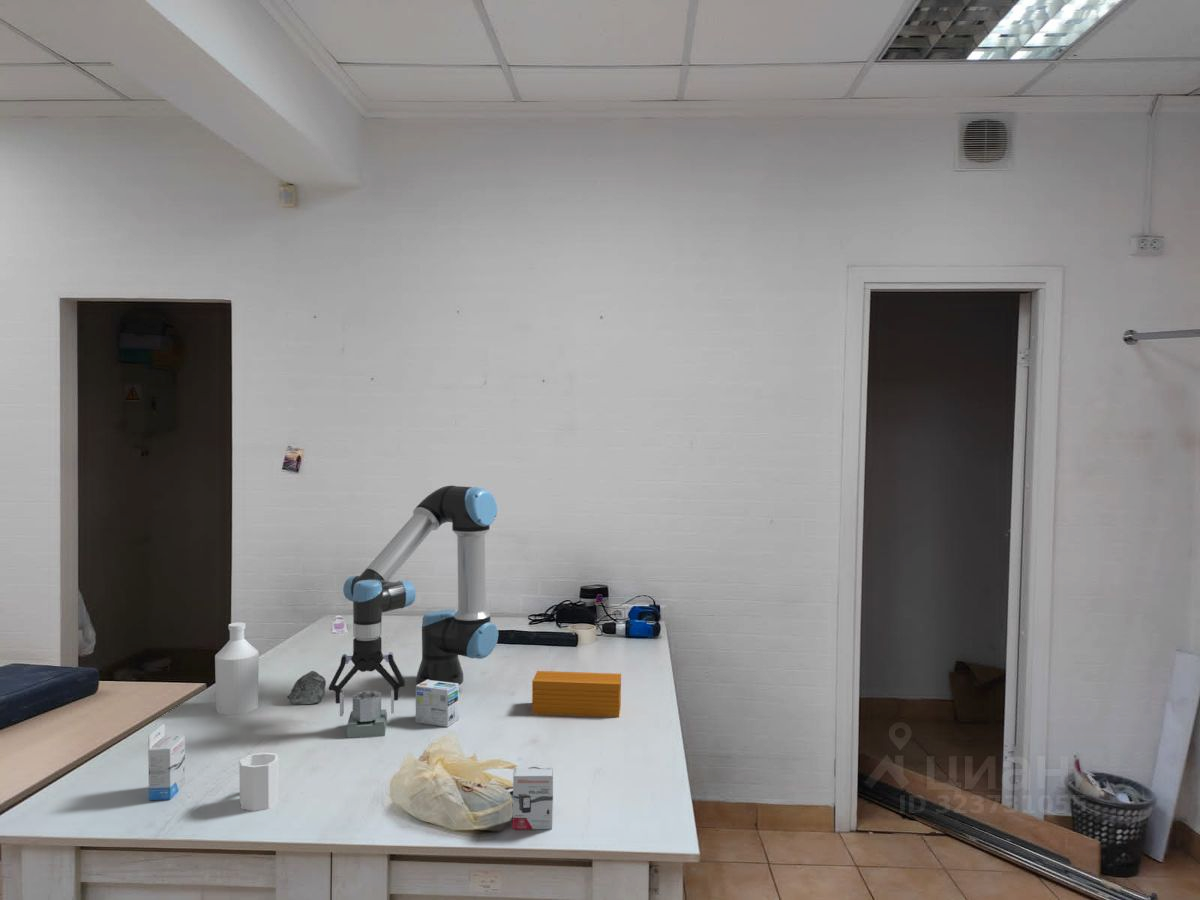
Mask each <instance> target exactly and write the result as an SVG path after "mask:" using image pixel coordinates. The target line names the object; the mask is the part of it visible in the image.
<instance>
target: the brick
mask: <svg viewBox="0 0 1200 900" xmlns="http://www.w3.org/2000/svg"><path fill="white" fill-rule="evenodd" d="M531 682H532V684H531V686H532V691H531V692H532V693H531V694H532V701H531V702H532V705H531V706H532V707H531V714H532V715H548V716H550V715H551V716H571V717H572V716H577V717H579V716H580V717H598V716H602V718H603V717H604V718H608V717H607V716H612V717H611V718H620V715H619V714H620V713H621V706H622V705H621V703H622V699H621V698H622V697H621V696H622V673H613V672H611V673H610V672H582V671H581V672H580V671H553V670H551V671H550V670H537V671H536V673H535V675H534V677H533V679H532V681H531Z"/></svg>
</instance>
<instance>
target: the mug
mask: <svg viewBox="0 0 1200 900" xmlns="http://www.w3.org/2000/svg"><path fill="white" fill-rule="evenodd" d="M238 761H239V805H240V804H241V806H240V808H242V809H241V810H243V809H247V810H246V811H249V810H251V811H250V812H259V811H265V810H269V809H271V808H273V807H274V806H276V805H278V804H279V800H280V799H279V797H280V795H279V792H280V791H279V785H280V784H279V783H280V782H279V781H280V779H279V775H280V774H279V772H280V771H279V769H280V768H279V763H280V762H279V754H278V753H274V752H267V751H266V752H257V753H252V754H249V755H247V756H245V757H243V758H240V759H239V760H238ZM264 809H265V810H264ZM256 810H257V811H256ZM258 810H259V811H258Z"/></svg>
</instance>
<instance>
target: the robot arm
mask: <svg viewBox="0 0 1200 900" xmlns="http://www.w3.org/2000/svg"><path fill="white" fill-rule="evenodd" d="M497 514H498V506H497V500H496V498H495V497H494V495H493V494H492V493H491V491H490V490H488V489H486V488H481V487H477V486H462V485H461V486H458V485H457V486H456V485H446V486H442V487H440V488H437V489H436V490H435V491H433V492H432V493H430V494H428V495H427V496H426V497H424V499H422V500H421V501H420V502H419V503H418V504H417V506H416V507H415V508H414V509H413V511H412V516H411V517H410V518H409V520H408V521H407V522H406V523H405V524H404V525H403V526H402V527H401V529H400V530H398V532H397V533H396V534H395V536H394V537H392V538H391V540H390V541H389V542H388V543H387V545H386V546H384V548H382V550H381V551H380V553H379V554H377V556H376V557H375V558H374V559H373V560H372V561H371V562H370V564H369V565H368V566H367V567H366V568H365V569H364V571H363V572H361V574H360V575H352V576H350V577H348V578H347V579H346V580H345V582H344V583H343V591H342V592H343V594H344V597H345V599H346V600H348V601H350V602H352V605H353V606H352V608H353V609H352V613H353V615H352V617H353V619H352V620H353V622H352V630H353V631H352V632H353V633H352V634H353V635H352V636H353V641H352V642H353V643H352V645H353V647H352V648H353V649H352V655H347V654H345V653H344V654H342V656H341V659H340V664H339V666H338V668H337V670H336V672H335V674H334V676H333V678H332V680H331V681H330V684H329V687H328V690H329V691H334V692H335V703H336V704H339V717H343V715H344V712H345V711H344V710H345V708H344V707H345V705H344V704H345V703H344V702H345V701H344V698H345V697H344V696H345V695H344V693H345V692H344V691H345V690H344V689H343V688H344V687H345V686H346V685H347V683H349V681H350V680H351V679H352V678H353V677H354V675H355V674H357V672H358V671H360V672H362V673H364V672H374V671H376V672H377V673H379V674H380V675H381V676H382V678H383V679H384V680H386V682H387V683H388V684H389V685H390V686H391V688H390V714H394V713H395V702H396V701H398V700H399V689H400V688H405V685H406V681H405V679H404V677H403V675H402V672H401V671H400V669H399V667H398V665H397V663H396V661H395V659H394V652H388V653H387V654H386V653H385V654H383V652H382V637H381V636H382V625H383V624H382V619H383V618H382V616H383V615H382V613H386V612H391V611H394V610H400V609H404V608H406V607H409V606H412V604H413V603H414V602H415V601H416V597H417V596H416V594H417V593H416V592H417V591H416V588H415V586H414V584H413V583H412V582H411V581H409V580H398V581H390V580H391V579H392V578H393V577H394V575H395V574H396V573H397V572H398V571H399V570H400V568H401V567H402V566H403V565H404V564H405V563H406V561H407V560H408V559H409V558H410V557H411V556H412V554H414V552H415V551H416V550H417V549H418V548H419V546H420V545H421V544H422V543H423V542H424V540H425V539H427V537H428V535H429V534H430V533H431V532H432V531H436V530H438V529H439V528H440V527H441V526H442V525H444V524H445V523H452V525H451V526H452V527H451V528H452V532H454V534H455V535H456V538H457V540H456V541H457V599H458V600H457V601H458V602H457V606H458V607H457V609H458V610H457V609H443V610H442V609H441V610H435V611H430V612H427V613H426V614H424V616H423V617H422V620H421V621H422V622H421V623H422V624H421V661H420V664H419V667H418V670H417V674H416V684H417V685H418V684H420V683H422V682H424V681H426V680H433V681H442V682H450V683H459V685H460V684H462V683H463V682H464V671H463V668H462V666H461V662H460V660H459V656H462V657H467V658H468V659H478V660H482V659H485V658H487V657H489V656H490V655H491V654H492V652H493V651H494V649H495V647H496V646H497V643H498V639H499V630H498V627H497V625H496V624H494V623H493V622H491V613H490V612H489V611H488V610H487V609H486V608H487V607H486V547H485V546H486V542H485V540H486V538H485V536H486V534H487V533H488V532H490V526H491V525H492V524H494V521H495V520H496V519H495V518H496V517H497ZM383 660H384V661H385V662H387V663H388V664H389V666H390V668H391V670H392V672H393V675H394V676H395V678H396V680H397V681H396V680H395V679H394V677H393V676H392V675H391V674H390V673H389V671H388V670H387V669H385V667H384V666H383V664H382V662H383ZM350 661H351V662H352V664H353V667H352V668H351V669H350V671H348V673H346V675H345V676H344V677H343V679H342V680H341V681H340V682H339V683H338V684H337V682H338V681H339V678H340V676H341V674H342V672H343V671H344V669H345V666H346V665H348V664H349V663H350ZM336 684H337V685H336Z"/></svg>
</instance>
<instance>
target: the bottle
mask: <svg viewBox="0 0 1200 900" xmlns="http://www.w3.org/2000/svg"><path fill="white" fill-rule="evenodd" d="M245 629H246V622H241V621H240V622H232V623H229V624H228V630H229V640H228V641H227V643H226V644H224V646H223V647H222V648H221V649H220V650H219V651H218V652H217V653H216V654H215V656H214V668H215V669H214V670H215V671H214V673H215V675H214V676H215V702H216V703H215V705H216V706H215V707H216V708H215V711H216V712H217V714H221V715H226V716H233V715H234V716H235V715H242V714H246V713H251V712H252V711H254V710H256V709H258V708H259V667H260V666H259V664H260V663H259V662H260V661H259V660H260V659H259V656H260V655H259V654H260V653H259V652H260V651H259V650H258V649H257V648H255V646H253V645H251V644H250V643H249V642H248V640H246V638H245Z"/></svg>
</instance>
